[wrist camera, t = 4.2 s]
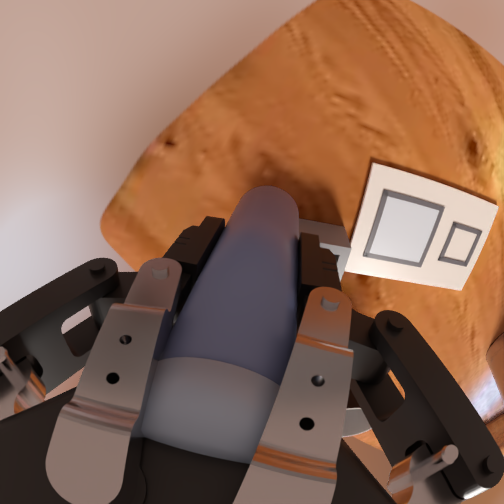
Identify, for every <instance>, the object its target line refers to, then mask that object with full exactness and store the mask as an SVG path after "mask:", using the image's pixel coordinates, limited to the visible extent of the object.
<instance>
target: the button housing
mask: <svg viewBox="0 0 504 504" xmlns="http://www.w3.org/2000/svg"><path fill="white" fill-rule="evenodd" d="M301 232H305V233H310V234H316V235H319V242H320V247H322V248H327V249H330V251H331V252H332V253H333V254H334V255H335V257H336V262H337V268H338V273H339V278H340V281H341V278H342V276H343V273H344V270H345V267H346V264H347V261H348V258H349V255H350V252H351V249H352V248H351V245H350V242H349V239H348V236H347V233H346V230H345V227H343V226H338V225H332V224H327V223H322V222H316V221H311V220H306V219H300V218H299V236H300V233H301Z"/></svg>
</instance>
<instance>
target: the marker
mask: <svg viewBox="0 0 504 504" xmlns="http://www.w3.org/2000/svg"><path fill="white" fill-rule="evenodd" d="M298 241H299V212H298V207H297V205H296V203H295V201H294V199H293V198H292V197H291V196H290V195H289V194H288V193H287V192H285V191H284V190H282V189H280V188H277V187H274V186H259V187H255V188H253V189H251V190H249V191H248V192H247V193H245V194H244V195H243V197H242V198H241V199H240V201H239V203H238V205H237V206H236V208H235V210H234V212H233V214H232V216H231V217H230V219H229V221H228V223H227V225H226V226H225V228H224V230H223V232H222V234H221V236H220V238H219V239H218V241H217V243H216V245H215V247H214V249H213V251H212V252H211V254H210V256H209V258H208V260H207V262H206V264H205V266H204V268H203V269H202V271H201V273H200V275H199V277H198V279H197V281H196V283H195V285H194V287H193V289H192V291H191V293H190V294H189V296H188V298H187V300H186V302H185V304H184V306H183V308H182V310H181V312H180V314H179V316H178V318H177V320H176V322H175V324H174V326H173V328H172V331H171V333H170V336H169V338H168V341H167V344H166V347H165V350H164V352H162V353H161V355H160V358H159V361H158V365H157V368H156V372H155V376H154V379H153V383H152V387H151V390H150V394H149V398H148V402H147V406H146V410H145V415H144V419H143V423H142V428H141V431H142V433H143V434H144V437H146V438H149V439H152V440H154V441H157V442H160V443H164V444H167V445H170V446H173V447H176V448H180V449H183V450H187V451H191V452H195V453H198V454H203V455H207V456H211V457H216V458H220V459H225V460H230V461H236V462H241V463H247V464H250V463H251V460H252V458H253V456H254V453H255V451H256V449H257V446H258V444H259V441H260V439H261V436H262V434H263V431H264V429H265V426H266V423H267V421H268V418H269V415H270V413H271V410H272V407H273V405H274V402H275V399H276V396H277V394H278V391H279V388H280V385H281V382H282V379H283V376H284V373H285V370H286V367H287V364H288V361H289V358H290V355H291V352H292V349H293V346H294V343H295V340H296V328H297V290H298Z"/></svg>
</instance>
